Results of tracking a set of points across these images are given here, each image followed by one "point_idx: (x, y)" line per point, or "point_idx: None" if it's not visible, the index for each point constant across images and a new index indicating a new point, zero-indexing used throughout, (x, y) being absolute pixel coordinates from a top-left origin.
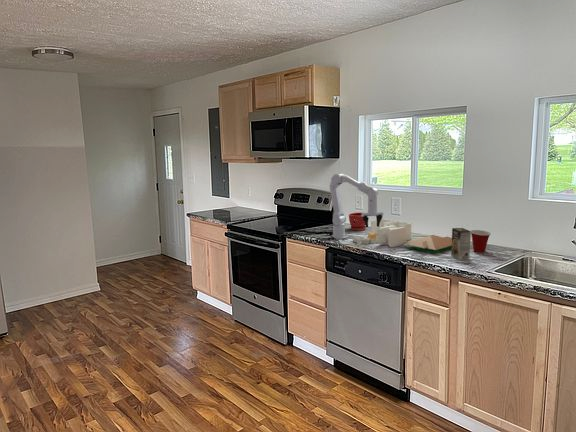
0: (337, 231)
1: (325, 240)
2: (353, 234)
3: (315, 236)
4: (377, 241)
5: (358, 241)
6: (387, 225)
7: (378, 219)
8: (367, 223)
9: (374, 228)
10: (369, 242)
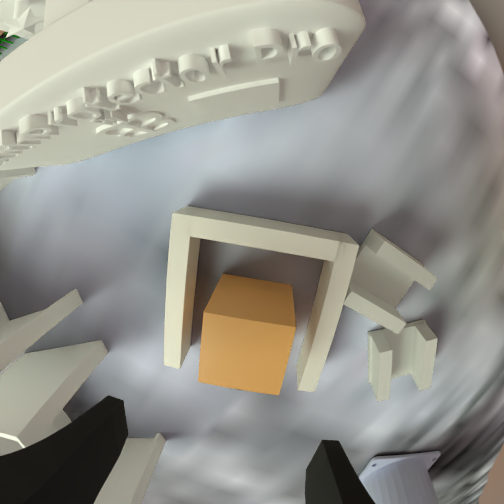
0: (435, 494)
1: (493, 433)
2: (257, 500)
3: (448, 496)
4: (245, 217)
5: (402, 334)
6: (7, 407)
7: (52, 497)
8: (353, 495)
9: (116, 476)
10: (347, 236)
